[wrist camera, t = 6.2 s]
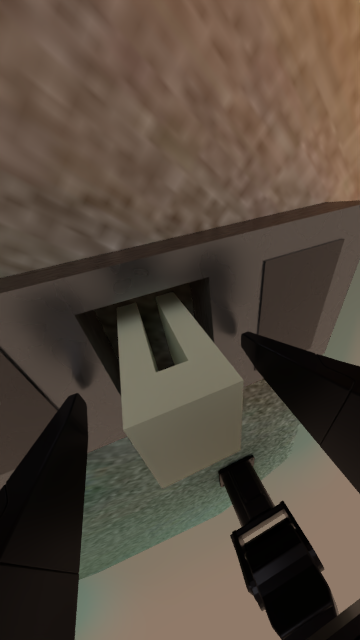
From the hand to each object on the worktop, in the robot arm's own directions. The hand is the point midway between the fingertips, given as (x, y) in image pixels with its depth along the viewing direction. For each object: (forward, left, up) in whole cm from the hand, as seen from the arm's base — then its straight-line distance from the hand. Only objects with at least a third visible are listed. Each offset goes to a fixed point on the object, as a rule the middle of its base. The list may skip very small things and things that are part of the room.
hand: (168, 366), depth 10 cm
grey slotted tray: (0, 0, -4) cm, 4 cm away
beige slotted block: (0, 0, -4) cm, 4 cm away
